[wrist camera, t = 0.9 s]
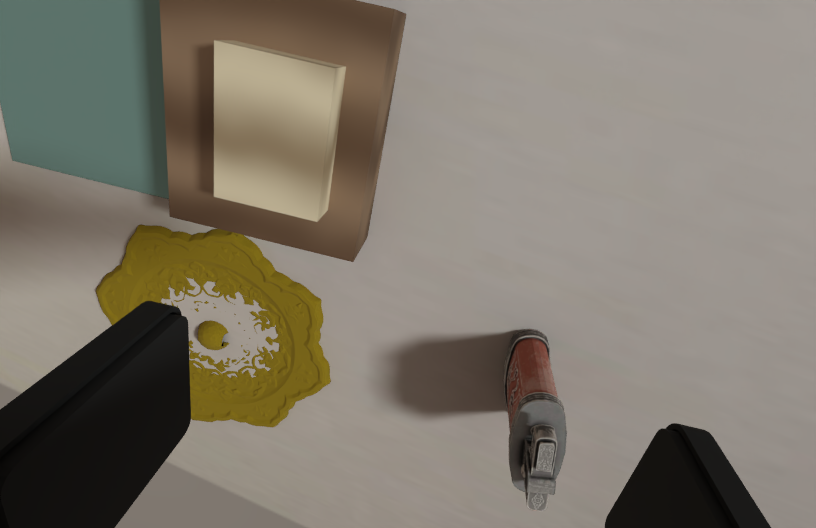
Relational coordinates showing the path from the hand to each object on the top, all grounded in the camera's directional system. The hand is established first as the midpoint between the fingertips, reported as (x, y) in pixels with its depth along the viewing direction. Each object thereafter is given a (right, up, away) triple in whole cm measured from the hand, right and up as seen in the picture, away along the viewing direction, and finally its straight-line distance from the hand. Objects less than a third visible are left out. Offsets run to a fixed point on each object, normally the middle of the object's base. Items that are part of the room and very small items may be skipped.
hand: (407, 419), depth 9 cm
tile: (-7, +10, +16) cm, 20 cm away
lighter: (+9, -5, +26) cm, 28 cm away
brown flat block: (-7, +12, +20) cm, 24 cm away
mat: (-20, +16, +20) cm, 32 cm away
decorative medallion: (-16, -3, +29) cm, 33 cm away
